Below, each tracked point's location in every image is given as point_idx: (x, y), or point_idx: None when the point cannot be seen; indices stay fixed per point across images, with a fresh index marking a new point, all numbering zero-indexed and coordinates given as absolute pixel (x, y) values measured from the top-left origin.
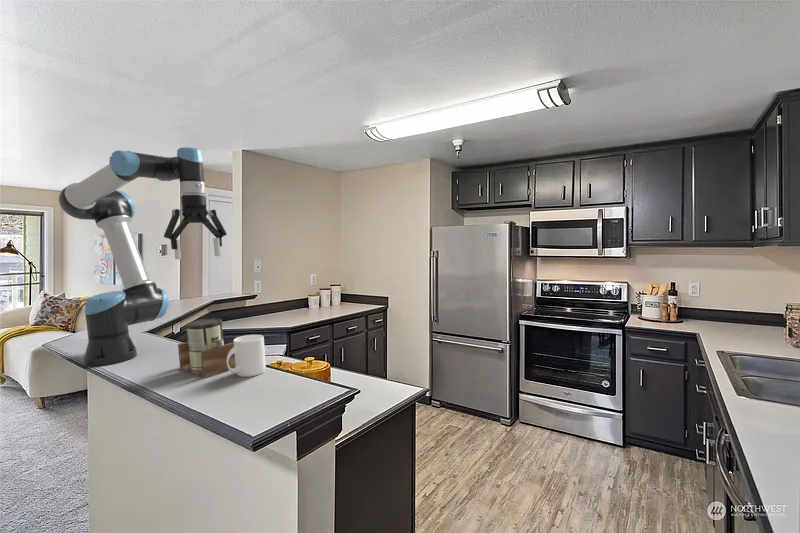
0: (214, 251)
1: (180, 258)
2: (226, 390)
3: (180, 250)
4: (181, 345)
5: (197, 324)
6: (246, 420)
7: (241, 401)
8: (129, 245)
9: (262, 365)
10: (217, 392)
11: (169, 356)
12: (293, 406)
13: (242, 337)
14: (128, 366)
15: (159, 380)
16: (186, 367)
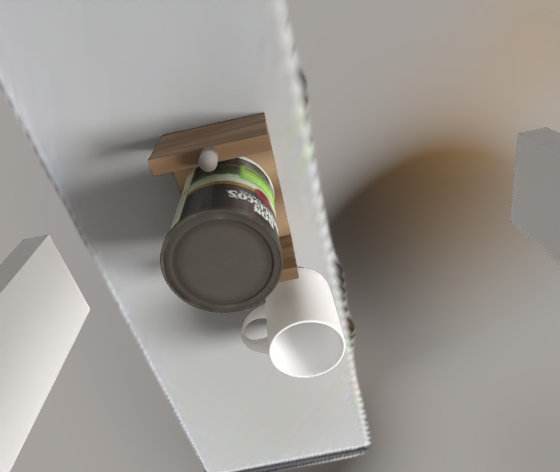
0: (557, 159)
1: (79, 317)
2: (223, 347)
3: (51, 386)
4: (158, 174)
5: (195, 279)
6: (214, 445)
7: (228, 397)
8: None
9: (314, 325)
10: (207, 345)
11: None
12: (280, 445)
13: (304, 320)
14: None
15: (106, 199)
16: (175, 173)
